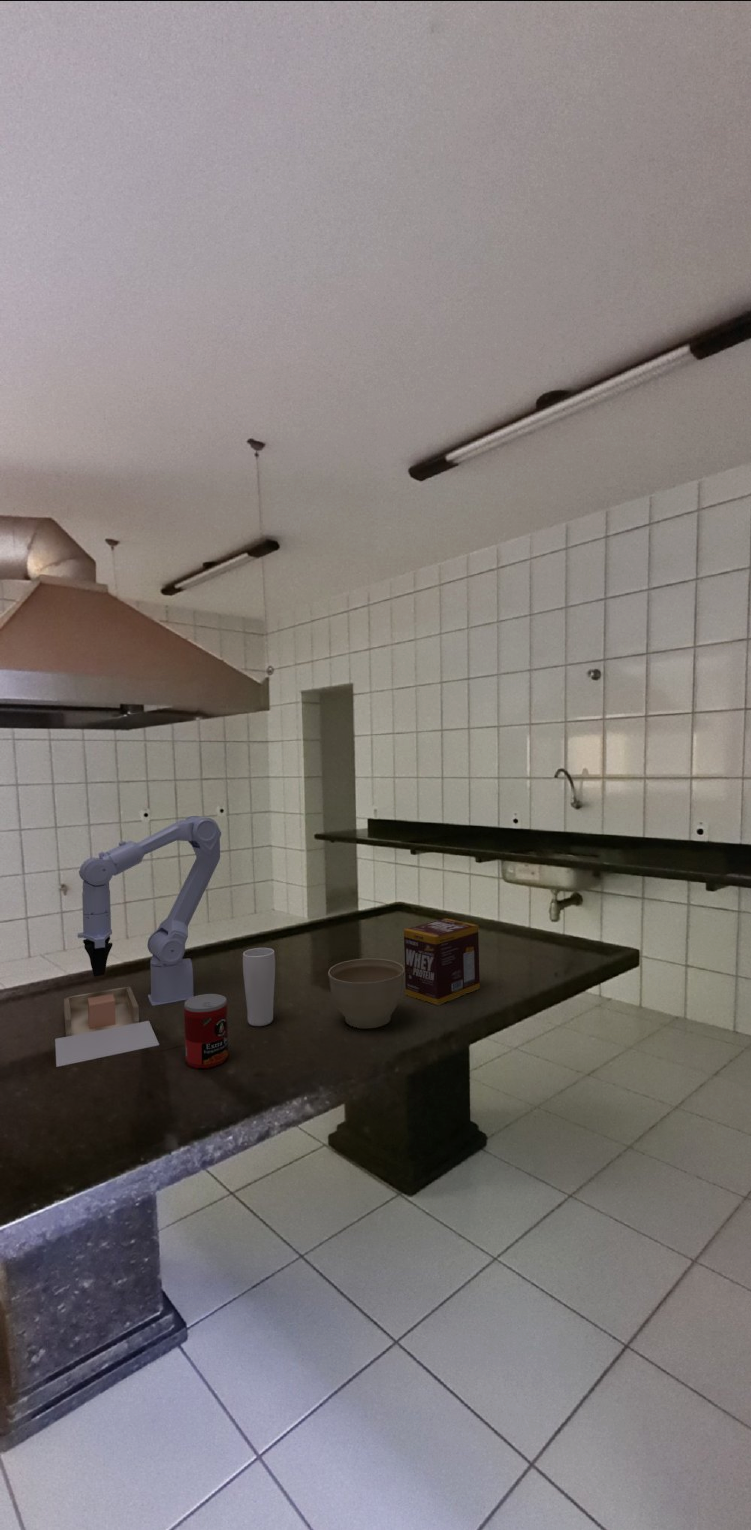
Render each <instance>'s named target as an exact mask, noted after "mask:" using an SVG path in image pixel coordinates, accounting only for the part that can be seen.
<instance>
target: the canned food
mask: <svg viewBox="0 0 751 1530" xmlns="http://www.w3.org/2000/svg"><path fill="white" fill-rule="evenodd" d="M227 1003H228V1002H227V997H226V996H224V995H221V994H219V993H205V994H204V993H203V994H199V995H195V996H194V997H192V998H189V999H188V998H187V999H186V1000H184V1004H183V1005H184V1006H183V1008H184V1009H183V1011H184V1013H183V1015H184V1019H183V1020H184V1021H183V1022H184V1044H185V1046H184V1047H185V1049H184V1050H185V1051H184V1052H185V1061H186V1063H187V1065H188V1066H189V1067H190V1068H191V1067H192V1068H193V1067H194V1068H193V1069H198V1068H206V1069H210V1068H209V1067H212V1066H215V1065H218V1064H220V1063H221V1062H223V1061H224V1060H225V1059H226V1058H227V1059H228V1056H229V1055H228V1054H229V1037H228V1035H229V1034H228V1031H229V1030H228V1029H229V1028H228V1027H229V1026H228V1004H227ZM227 1059H226V1060H227ZM226 1060H225V1061H226ZM225 1061H224V1062H225ZM224 1062H223V1063H224ZM220 1065H221V1064H220ZM218 1066H219V1065H218ZM215 1067H216V1066H215ZM212 1068H213V1067H212Z"/></svg>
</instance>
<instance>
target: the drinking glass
mask: <svg viewBox="0 0 751 1530" xmlns="http://www.w3.org/2000/svg"><path fill="white" fill-rule="evenodd" d="M242 973H243V974H242V975H243V976H242V977H243V984H244V985H243V986H244V993H245V1001H246V1002H245V1003H246V1010H247V1011H246V1012H247V1022H248V1024H249V1025H250V1026H252V1027H263V1026H267V1025H270V1024H271V1023H272V1022H273V1020H274V995H275V994H274V993H275V983H276V982H275V979H276V956H275V950H274V949H272V948H269V947H257V948H256V947H255V948H251V949H247V950H245V951H243V953H242Z"/></svg>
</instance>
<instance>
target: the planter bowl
mask: <svg viewBox="0 0 751 1530" xmlns="http://www.w3.org/2000/svg"><path fill="white" fill-rule="evenodd" d="M327 975H328V979H329V986H330V992H331V996H332V999H333V1000H334V1003H335V1005H336V1007H337V1008H338V1010H339V1011H340V1013H341V1014H342V1015H343V1016H344V1017H345V1018H344V1019H345V1022H346V1024H347V1025H348V1024H349V1026H350V1027H352V1026H353V1028H356V1027H357V1029H377V1028H379V1027H383V1026H385V1025H387V1024H388V1023H389V1022H390V1021H391V1018H392V1013H394V1011H395V1009H396V1007H397V1006H398V1003H399V1002H400V999H401V996H402V993H403V988H404V977H405V966H404V965H402V964H401V963H400V962H397V961H394V960H390V959H386V958H385V959H384V958H358V959H350V960H347V961H342V962H339V963H336V964H335V965H333V966H331V967H330V968H329V969H328V972H327Z"/></svg>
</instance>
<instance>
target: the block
mask: <svg viewBox="0 0 751 1530" xmlns="http://www.w3.org/2000/svg"><path fill="white" fill-rule="evenodd" d="M88 1022H89V1027H90V1029H95V1028H100V1027H105V1026H111V1025H116V1019H115V999H114V996H113V994H109V995H103V996H97V997H92V998H88Z"/></svg>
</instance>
